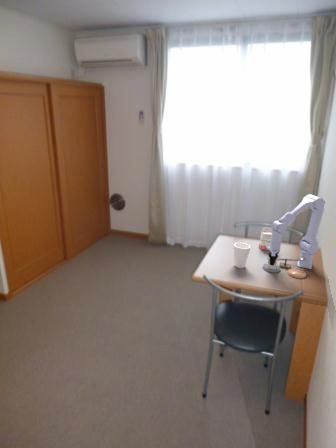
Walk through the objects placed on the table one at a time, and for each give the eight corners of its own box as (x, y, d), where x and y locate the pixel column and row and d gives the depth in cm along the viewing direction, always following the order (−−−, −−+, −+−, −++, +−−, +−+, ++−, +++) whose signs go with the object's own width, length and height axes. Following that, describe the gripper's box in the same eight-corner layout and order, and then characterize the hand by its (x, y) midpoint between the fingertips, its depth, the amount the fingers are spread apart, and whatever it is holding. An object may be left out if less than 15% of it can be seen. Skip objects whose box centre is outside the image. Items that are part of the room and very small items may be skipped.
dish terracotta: (287, 268, 193) (288, 267, 193) (305, 272, 190) (306, 270, 189) (286, 275, 184) (287, 274, 184) (305, 279, 181) (305, 278, 181)
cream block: (268, 264, 195) (269, 255, 193) (276, 266, 193) (277, 257, 191) (267, 268, 191) (268, 258, 189) (275, 269, 189) (276, 260, 187)
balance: (266, 260, 202) (268, 249, 200) (303, 268, 194) (306, 257, 192) (265, 264, 198) (267, 252, 195) (303, 272, 190) (306, 260, 188)
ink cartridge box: (260, 250, 218) (263, 229, 213) (258, 247, 223) (261, 226, 218) (273, 250, 219) (276, 230, 214) (270, 247, 223) (274, 227, 218)
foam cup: (247, 270, 189) (250, 249, 185) (231, 268, 191) (234, 247, 186) (247, 263, 198) (249, 243, 193) (231, 261, 199) (234, 241, 195)
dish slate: (263, 263, 198) (264, 262, 198) (280, 267, 195) (281, 265, 194) (261, 270, 189) (261, 268, 189) (279, 274, 186) (279, 272, 186)
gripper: (270, 236, 194) (267, 256, 199) (267, 244, 181) (263, 266, 186) (282, 238, 192) (279, 259, 196) (280, 246, 179) (276, 269, 183)
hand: (272, 262), depth 191 cm, fingers open, 6 cm apart
